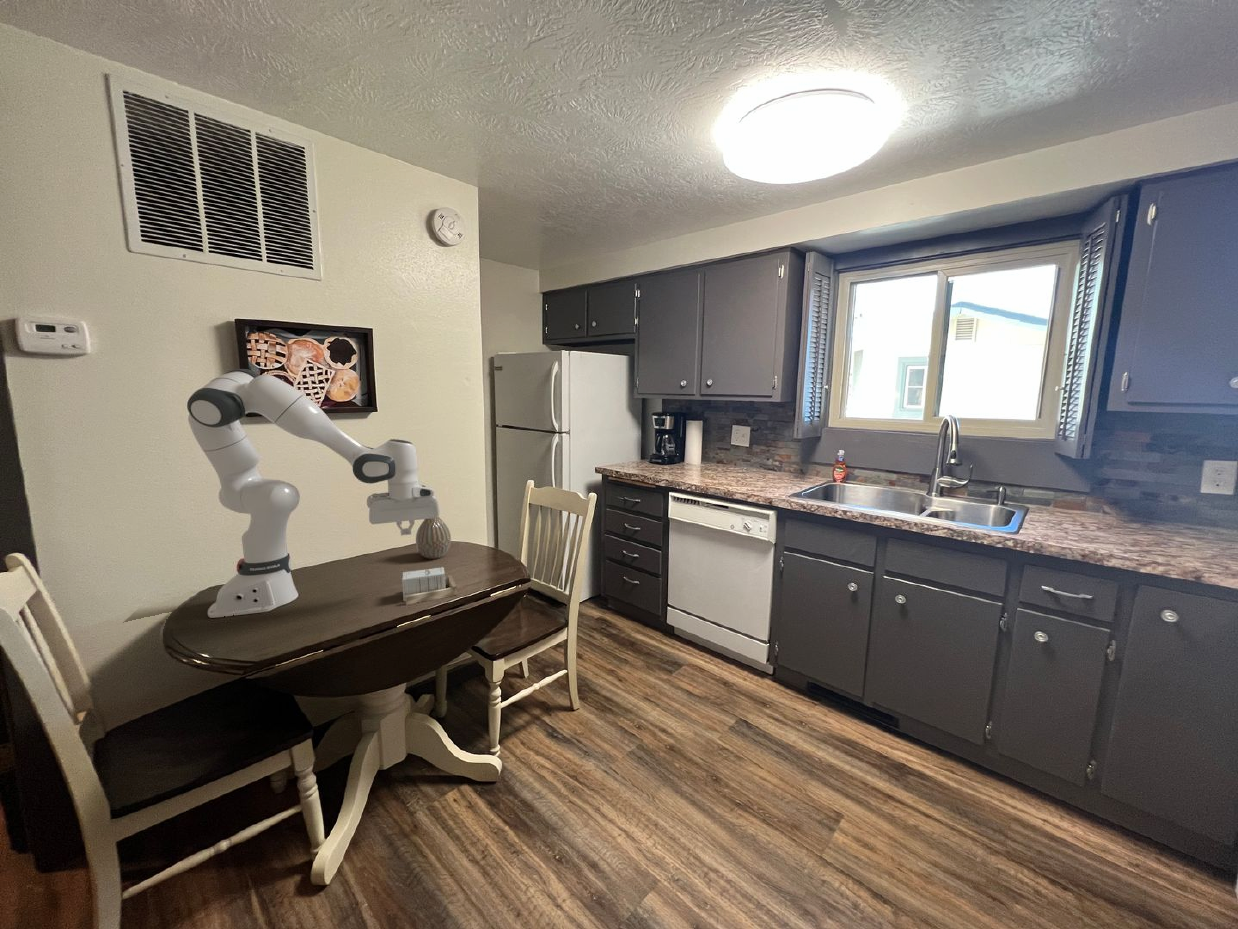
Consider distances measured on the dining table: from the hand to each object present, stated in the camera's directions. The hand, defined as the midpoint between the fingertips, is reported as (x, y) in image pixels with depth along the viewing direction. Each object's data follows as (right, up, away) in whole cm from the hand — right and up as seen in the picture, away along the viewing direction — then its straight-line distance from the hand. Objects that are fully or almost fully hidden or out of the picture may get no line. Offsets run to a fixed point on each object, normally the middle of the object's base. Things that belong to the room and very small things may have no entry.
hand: (406, 534), depth 154 cm
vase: (-7, -15, +42) cm, 45 cm away
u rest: (+5, -20, +4) cm, 21 cm away
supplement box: (-2, -17, +1) cm, 17 cm away
